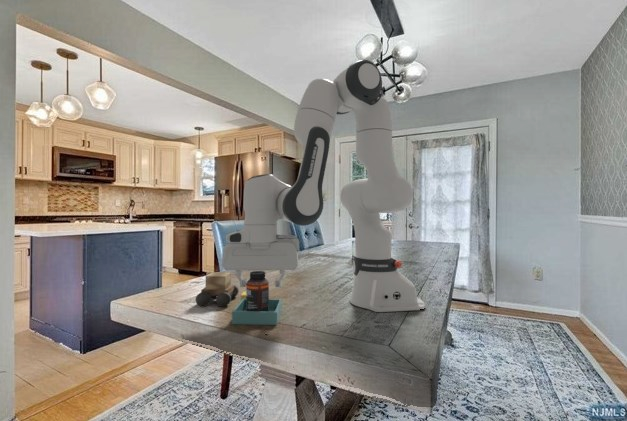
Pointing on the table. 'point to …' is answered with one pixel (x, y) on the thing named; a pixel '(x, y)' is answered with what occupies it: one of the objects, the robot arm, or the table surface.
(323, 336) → the table surface
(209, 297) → the trolley
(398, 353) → the table surface
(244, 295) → the yellow cube
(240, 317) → the tray
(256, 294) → the supplement bottle
